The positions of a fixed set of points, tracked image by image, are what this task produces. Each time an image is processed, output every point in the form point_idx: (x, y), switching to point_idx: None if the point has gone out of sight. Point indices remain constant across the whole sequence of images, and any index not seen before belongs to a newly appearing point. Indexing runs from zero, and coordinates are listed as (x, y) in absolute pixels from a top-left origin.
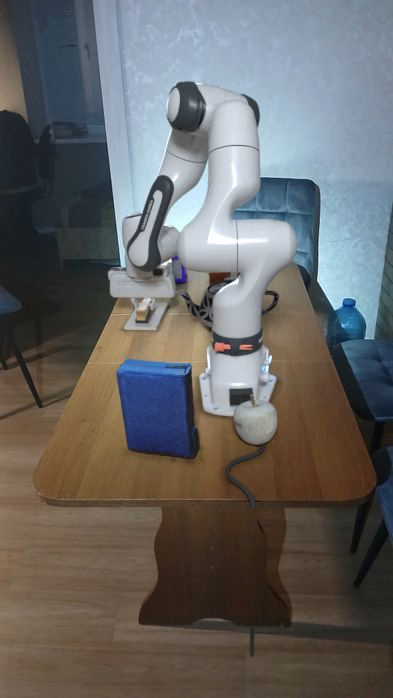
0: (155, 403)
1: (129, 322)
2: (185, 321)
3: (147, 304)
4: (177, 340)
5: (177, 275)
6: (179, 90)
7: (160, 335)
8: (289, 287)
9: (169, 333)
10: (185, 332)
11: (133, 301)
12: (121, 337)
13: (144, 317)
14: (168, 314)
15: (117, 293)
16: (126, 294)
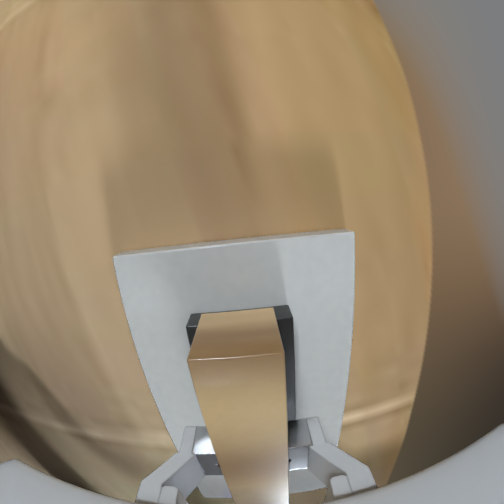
0: None
1: (335, 309)
2: (51, 368)
3: (225, 466)
4: (7, 155)
5: None
6: None
7: (79, 185)
8: None
9: (47, 224)
10: (2, 250)
11: (344, 467)
12: (324, 111)
13: (201, 325)
14: (158, 436)
15: (497, 461)
16: (426, 496)
